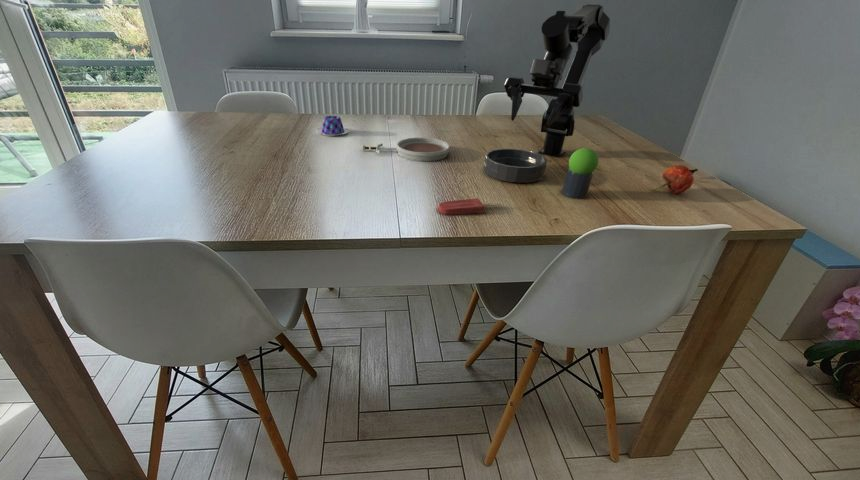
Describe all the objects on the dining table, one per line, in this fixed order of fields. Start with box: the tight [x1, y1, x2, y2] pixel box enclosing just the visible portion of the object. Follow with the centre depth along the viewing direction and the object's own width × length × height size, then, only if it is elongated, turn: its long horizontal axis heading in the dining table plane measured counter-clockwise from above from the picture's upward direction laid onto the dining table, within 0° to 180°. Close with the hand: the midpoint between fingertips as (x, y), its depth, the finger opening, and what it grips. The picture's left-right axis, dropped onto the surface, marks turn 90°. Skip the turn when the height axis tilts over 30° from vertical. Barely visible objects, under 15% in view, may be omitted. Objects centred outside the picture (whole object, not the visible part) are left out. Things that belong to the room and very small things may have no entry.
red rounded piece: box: [652, 164, 698, 195], centre depth 102 cm, size 7×7×10 cm
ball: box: [568, 147, 599, 174], centre depth 97 cm, size 6×6×6 cm
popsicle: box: [438, 198, 502, 216], centre depth 93 cm, size 4×2×15 cm
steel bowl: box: [482, 148, 548, 184], centre depth 112 cm, size 16×16×4 cm
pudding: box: [315, 115, 351, 137], centre depth 144 cm, size 12×12×5 cm
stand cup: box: [561, 167, 595, 200], centre depth 100 cm, size 6×6×6 cm
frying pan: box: [360, 137, 451, 162], centre depth 127 cm, size 17×3×28 cm
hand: (529, 122), depth 103 cm, fingers open, 9 cm apart
